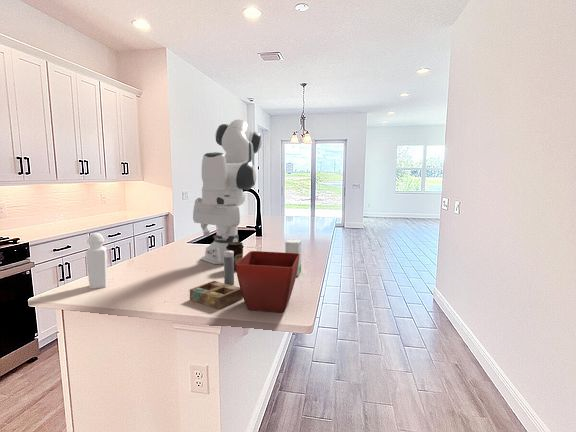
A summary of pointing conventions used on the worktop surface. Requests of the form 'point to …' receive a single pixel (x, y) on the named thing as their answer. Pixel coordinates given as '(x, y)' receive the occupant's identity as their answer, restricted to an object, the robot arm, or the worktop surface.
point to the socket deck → (216, 294)
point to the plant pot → (267, 279)
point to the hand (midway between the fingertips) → (215, 237)
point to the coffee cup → (236, 251)
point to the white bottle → (96, 261)
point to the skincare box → (294, 251)
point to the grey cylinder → (229, 267)
